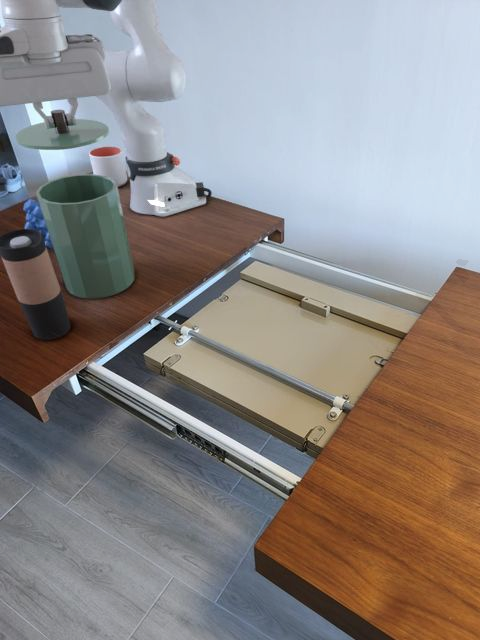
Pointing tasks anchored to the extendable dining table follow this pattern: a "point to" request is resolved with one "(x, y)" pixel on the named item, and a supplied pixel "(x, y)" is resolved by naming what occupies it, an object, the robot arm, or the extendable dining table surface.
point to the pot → (88, 234)
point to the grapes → (36, 220)
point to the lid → (62, 133)
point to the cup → (109, 164)
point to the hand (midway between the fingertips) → (61, 126)
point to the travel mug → (35, 282)
